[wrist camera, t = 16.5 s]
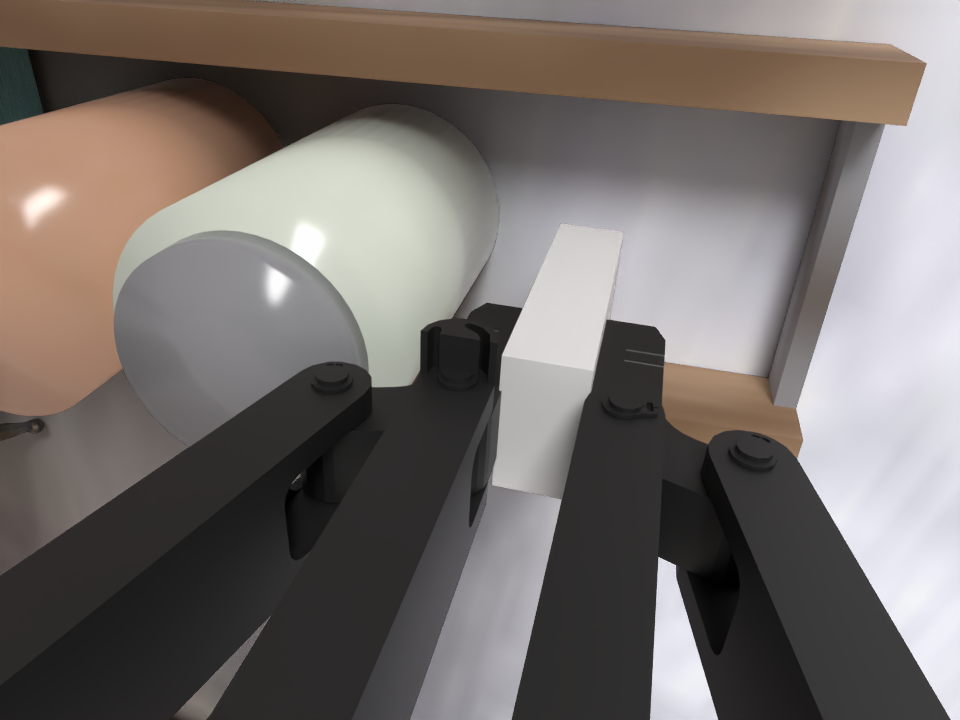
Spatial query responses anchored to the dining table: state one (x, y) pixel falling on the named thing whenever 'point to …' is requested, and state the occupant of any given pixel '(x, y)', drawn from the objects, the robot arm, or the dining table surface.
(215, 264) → the jar
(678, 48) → the lane
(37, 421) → the alarm clock
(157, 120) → the jar in lane
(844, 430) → the dining table surface
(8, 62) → the pusher
